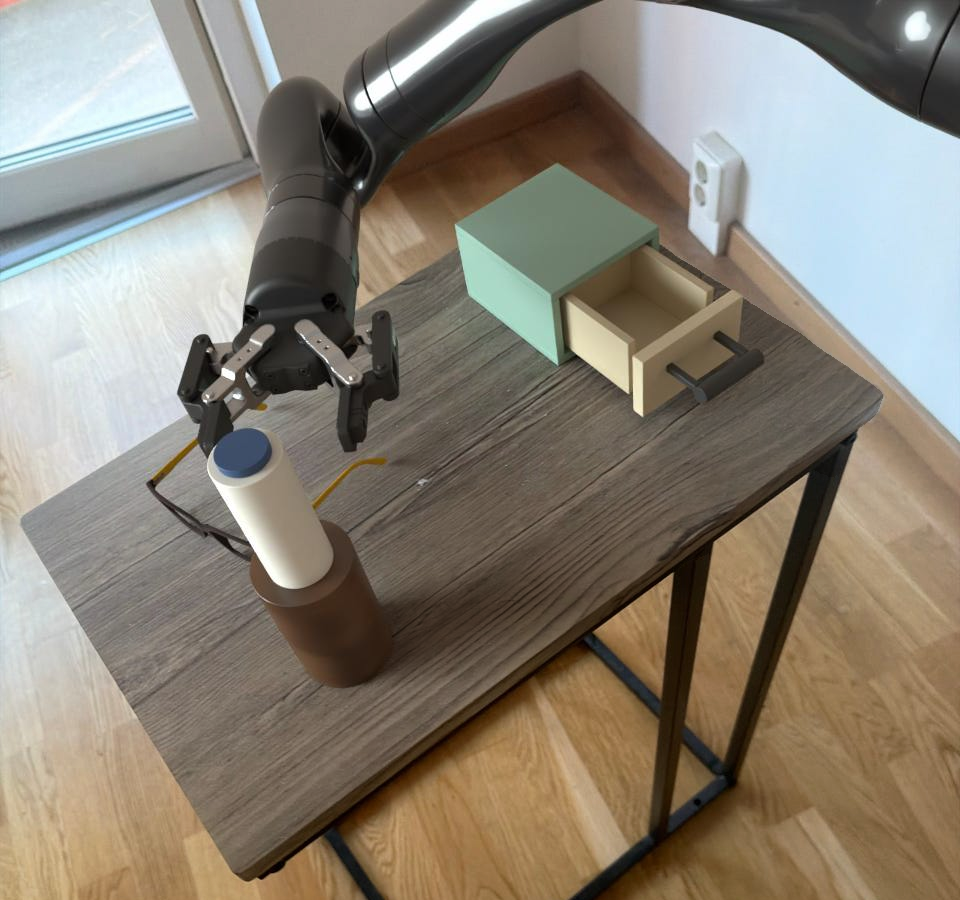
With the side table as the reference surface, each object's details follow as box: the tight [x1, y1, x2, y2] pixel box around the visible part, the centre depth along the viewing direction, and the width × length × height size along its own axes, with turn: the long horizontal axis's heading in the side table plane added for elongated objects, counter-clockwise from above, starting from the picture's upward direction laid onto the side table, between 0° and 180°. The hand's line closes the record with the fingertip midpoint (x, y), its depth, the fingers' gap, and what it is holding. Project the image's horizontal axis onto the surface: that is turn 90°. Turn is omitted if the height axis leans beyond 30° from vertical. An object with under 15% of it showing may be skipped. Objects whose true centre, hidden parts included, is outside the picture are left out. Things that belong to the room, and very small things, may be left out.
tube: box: [206, 427, 333, 589], centre depth 56 cm, size 4×4×11 cm
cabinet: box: [454, 162, 660, 367], centre depth 83 cm, size 14×12×8 cm
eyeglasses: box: [145, 402, 388, 564], centre depth 77 cm, size 14×14×4 cm
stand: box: [248, 518, 393, 689], centre depth 65 cm, size 7×7×11 cm
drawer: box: [559, 244, 766, 418], centre depth 76 cm, size 17×10×6 cm, turn 36°
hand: (280, 450), depth 58 cm, fingers open, 8 cm apart
